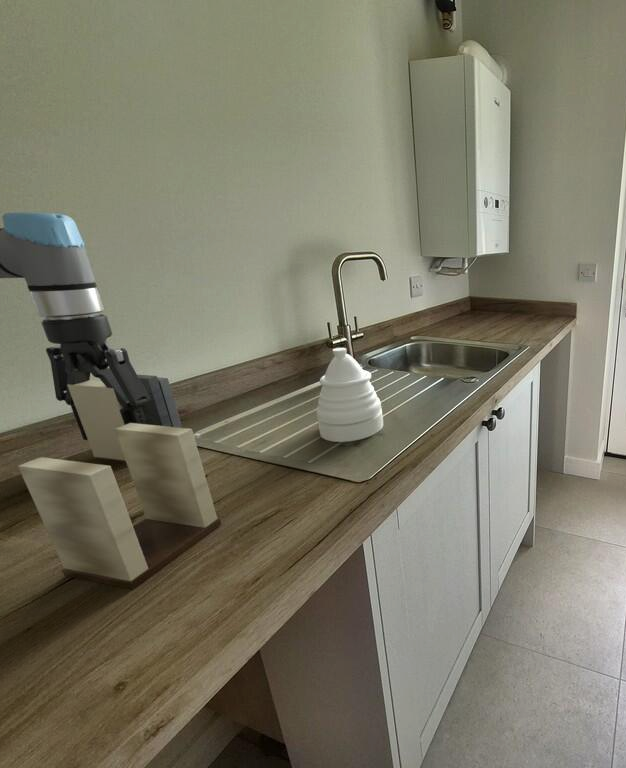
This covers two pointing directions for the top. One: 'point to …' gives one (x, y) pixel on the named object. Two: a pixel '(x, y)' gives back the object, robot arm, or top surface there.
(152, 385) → the grey book stand
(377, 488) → the top surface
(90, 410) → the cream book
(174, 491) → the cream book stand
